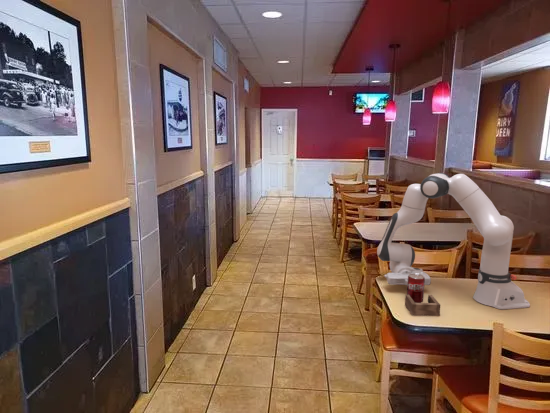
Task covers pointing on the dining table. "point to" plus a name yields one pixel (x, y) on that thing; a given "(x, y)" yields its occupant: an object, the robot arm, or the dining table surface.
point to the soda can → (416, 287)
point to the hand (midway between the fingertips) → (412, 285)
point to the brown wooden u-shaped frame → (423, 307)
